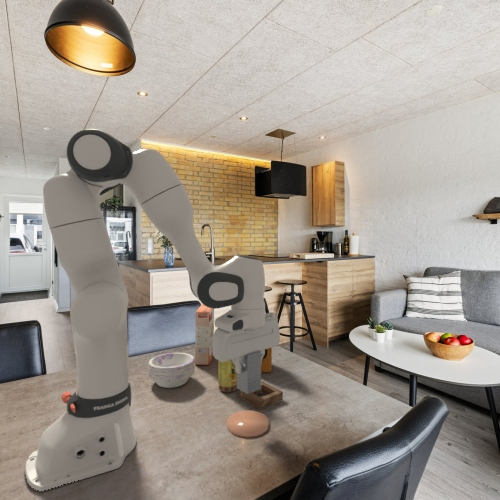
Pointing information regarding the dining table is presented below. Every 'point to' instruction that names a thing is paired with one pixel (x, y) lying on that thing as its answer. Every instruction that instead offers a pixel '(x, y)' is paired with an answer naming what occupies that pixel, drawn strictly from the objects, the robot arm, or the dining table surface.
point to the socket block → (269, 399)
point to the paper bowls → (171, 369)
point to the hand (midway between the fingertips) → (248, 369)
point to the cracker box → (204, 335)
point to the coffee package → (266, 361)
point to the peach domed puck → (247, 423)
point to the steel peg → (250, 373)
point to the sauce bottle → (227, 376)
